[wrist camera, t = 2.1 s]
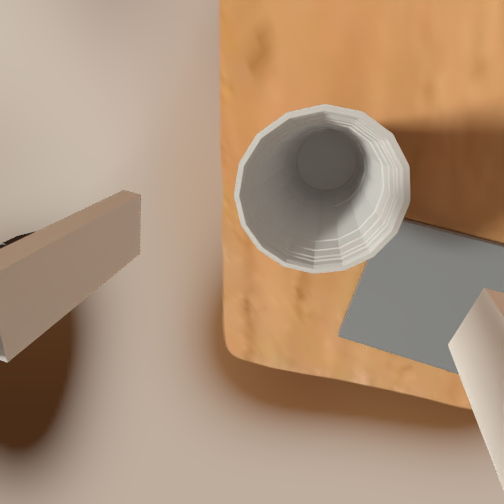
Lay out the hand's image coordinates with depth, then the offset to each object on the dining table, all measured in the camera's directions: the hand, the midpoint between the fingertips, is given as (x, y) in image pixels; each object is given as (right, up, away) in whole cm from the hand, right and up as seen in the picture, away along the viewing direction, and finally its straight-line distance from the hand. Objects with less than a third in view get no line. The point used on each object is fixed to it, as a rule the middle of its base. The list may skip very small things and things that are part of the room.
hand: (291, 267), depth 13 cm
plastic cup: (+6, +9, +18) cm, 21 cm away
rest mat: (+17, -4, +21) cm, 28 cm away
